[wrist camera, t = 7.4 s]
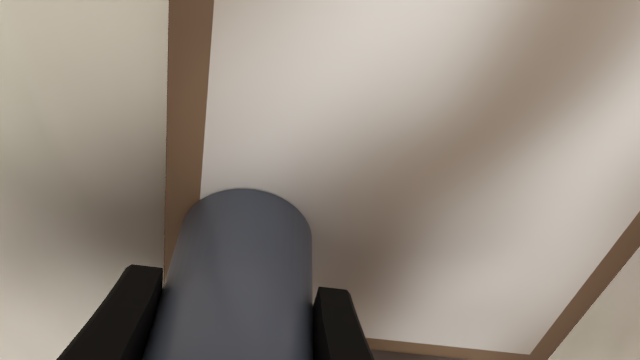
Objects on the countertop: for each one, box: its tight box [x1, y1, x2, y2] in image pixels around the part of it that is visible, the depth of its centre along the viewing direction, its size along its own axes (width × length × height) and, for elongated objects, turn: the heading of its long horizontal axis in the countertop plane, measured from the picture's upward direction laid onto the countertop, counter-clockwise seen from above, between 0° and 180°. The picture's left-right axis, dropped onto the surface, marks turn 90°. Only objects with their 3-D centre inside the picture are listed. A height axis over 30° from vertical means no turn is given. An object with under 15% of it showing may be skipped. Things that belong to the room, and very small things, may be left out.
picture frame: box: [164, 0, 640, 360], centre depth 12 cm, size 12×16×1 cm
